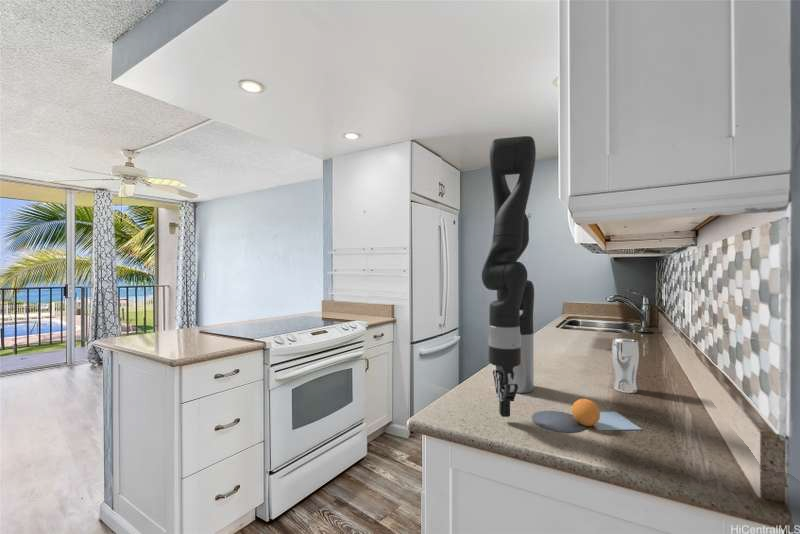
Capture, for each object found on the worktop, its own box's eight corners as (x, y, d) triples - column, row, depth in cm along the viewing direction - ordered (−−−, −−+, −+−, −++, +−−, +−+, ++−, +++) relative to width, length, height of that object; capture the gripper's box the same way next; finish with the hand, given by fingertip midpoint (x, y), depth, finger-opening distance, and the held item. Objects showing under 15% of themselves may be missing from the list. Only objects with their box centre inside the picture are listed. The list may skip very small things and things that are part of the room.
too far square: (576, 412, 94) (576, 412, 94) (615, 412, 94) (615, 411, 94) (598, 430, 84) (598, 429, 84) (641, 429, 84) (641, 429, 84)
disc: (524, 411, 95) (524, 410, 95) (571, 411, 95) (571, 410, 95) (543, 432, 83) (543, 431, 83) (596, 432, 83) (596, 431, 83)
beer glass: (638, 388, 113) (638, 339, 113) (639, 395, 107) (639, 343, 107) (612, 384, 116) (611, 337, 116) (611, 391, 110) (611, 341, 110)
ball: (562, 409, 90) (576, 389, 90) (581, 422, 91) (596, 402, 90) (574, 422, 84) (590, 401, 84) (595, 435, 85) (610, 415, 84)
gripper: (529, 350, 82) (530, 427, 82) (511, 338, 96) (511, 405, 96) (496, 350, 82) (496, 427, 82) (482, 338, 96) (482, 405, 96)
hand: (504, 415), depth 89 cm, fingers closed
